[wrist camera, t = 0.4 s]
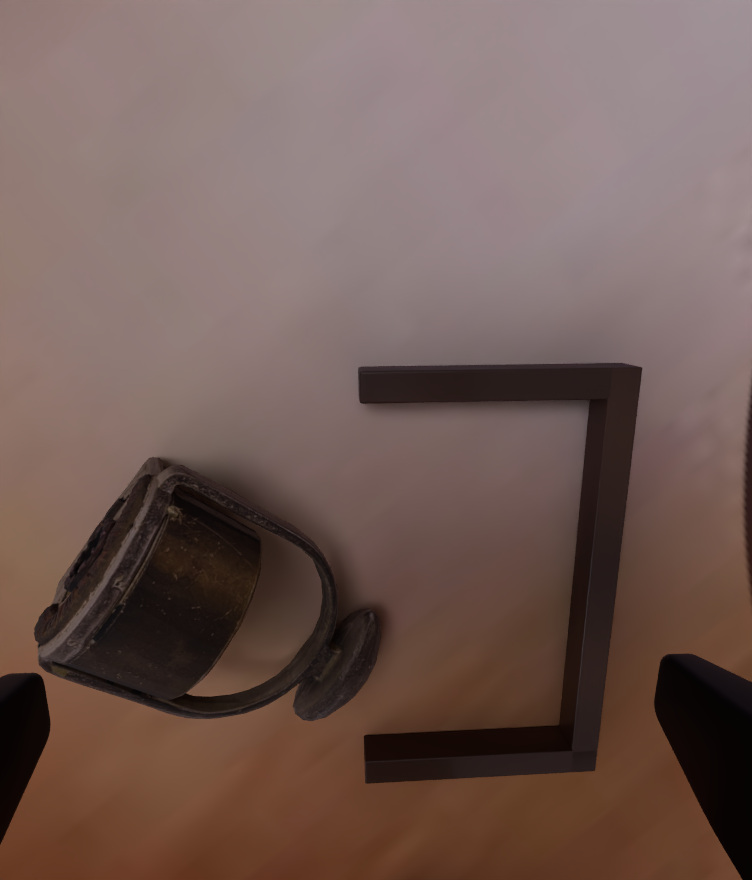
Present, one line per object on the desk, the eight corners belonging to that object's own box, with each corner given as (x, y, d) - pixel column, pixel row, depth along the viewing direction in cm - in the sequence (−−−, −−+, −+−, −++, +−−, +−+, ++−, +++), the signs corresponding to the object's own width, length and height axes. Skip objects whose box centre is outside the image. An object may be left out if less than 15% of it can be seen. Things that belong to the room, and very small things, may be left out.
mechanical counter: (231, 399, 15) (-106, 599, 14) (450, 741, 17) (173, 946, 16) (243, 403, 22) (21, 535, 21) (397, 644, 24) (203, 780, 23)
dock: (581, 745, 26) (595, 771, 24) (364, 756, 25) (365, 783, 24) (622, 363, 21) (642, 367, 20) (358, 366, 21) (359, 371, 19)
